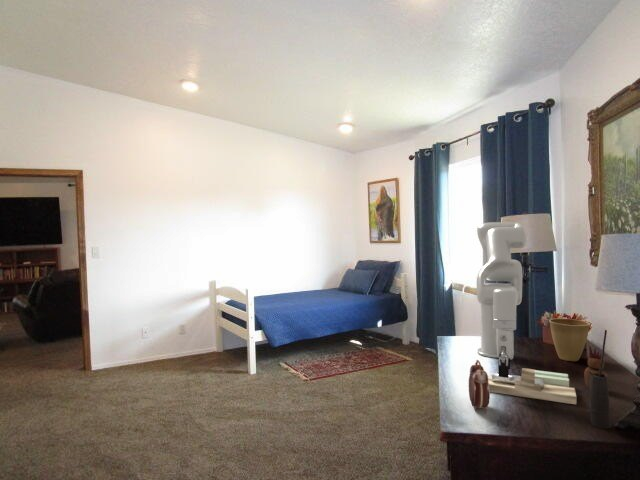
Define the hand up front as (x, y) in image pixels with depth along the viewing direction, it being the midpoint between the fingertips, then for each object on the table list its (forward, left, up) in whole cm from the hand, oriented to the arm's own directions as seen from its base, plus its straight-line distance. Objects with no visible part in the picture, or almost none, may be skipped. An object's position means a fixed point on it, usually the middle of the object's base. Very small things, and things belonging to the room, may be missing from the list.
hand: (504, 372), depth 152 cm
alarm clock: (+20, -6, -6) cm, 22 cm away
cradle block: (-9, +14, -6) cm, 18 cm away
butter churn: (+17, +25, -6) cm, 31 cm away
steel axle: (0, +4, -4) cm, 5 cm away
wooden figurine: (-13, +28, -6) cm, 32 cm away
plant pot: (-49, +22, -6) cm, 55 cm away
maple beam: (0, +7, -6) cm, 10 cm away
